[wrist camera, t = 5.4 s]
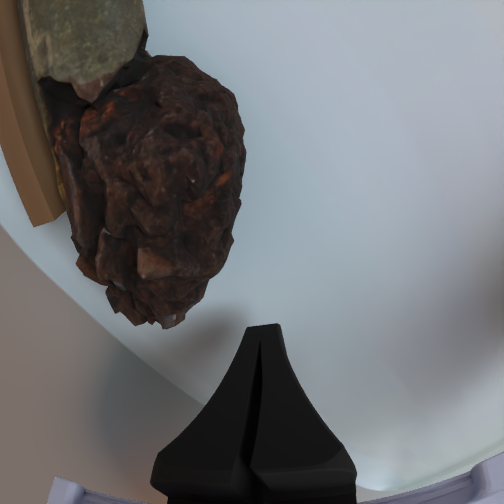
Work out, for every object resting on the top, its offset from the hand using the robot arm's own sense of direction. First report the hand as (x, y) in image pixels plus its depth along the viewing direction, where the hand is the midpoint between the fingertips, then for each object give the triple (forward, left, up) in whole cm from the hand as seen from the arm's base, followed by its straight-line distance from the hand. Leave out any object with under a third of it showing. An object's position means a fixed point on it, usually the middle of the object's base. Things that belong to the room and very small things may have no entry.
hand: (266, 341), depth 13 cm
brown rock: (+3, -11, -3) cm, 12 cm away
